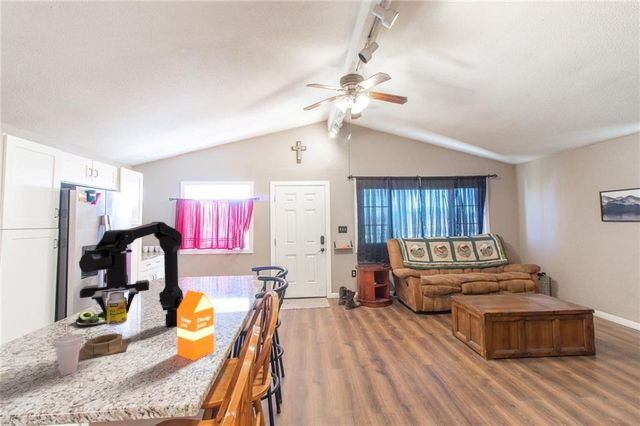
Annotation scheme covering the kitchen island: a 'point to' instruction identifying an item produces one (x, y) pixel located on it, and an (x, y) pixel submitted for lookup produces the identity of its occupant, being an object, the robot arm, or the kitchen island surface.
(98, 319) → the salad plate
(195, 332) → the orange juice
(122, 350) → the caddy
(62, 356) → the smoothie
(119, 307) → the supplement bottle
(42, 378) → the kitchen island surface
